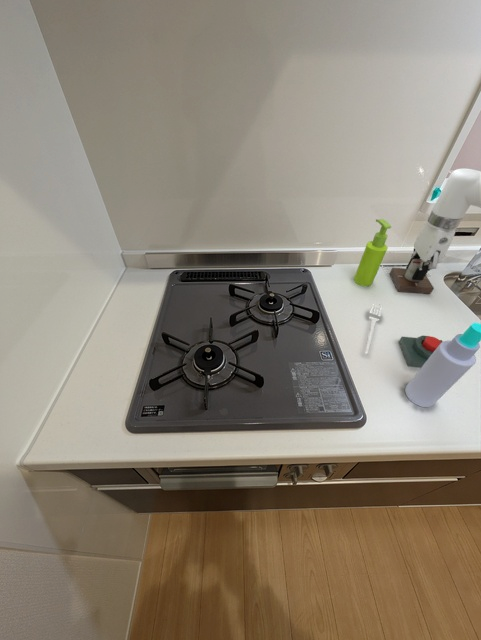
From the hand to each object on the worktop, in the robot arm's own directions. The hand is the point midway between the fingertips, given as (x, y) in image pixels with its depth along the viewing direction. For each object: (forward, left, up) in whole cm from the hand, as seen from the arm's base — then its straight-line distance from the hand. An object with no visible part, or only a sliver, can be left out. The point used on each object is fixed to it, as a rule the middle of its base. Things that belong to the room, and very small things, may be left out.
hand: (414, 273), depth 89 cm
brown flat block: (0, 0, -4) cm, 4 cm away
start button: (+6, +31, 0) cm, 32 cm away
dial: (0, 0, -1) cm, 1 cm away
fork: (+17, +23, -5) cm, 29 cm away
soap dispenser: (+15, 0, -4) cm, 16 cm away
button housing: (+6, +31, -4) cm, 32 cm away
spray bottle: (+11, +43, -4) cm, 45 cm away
